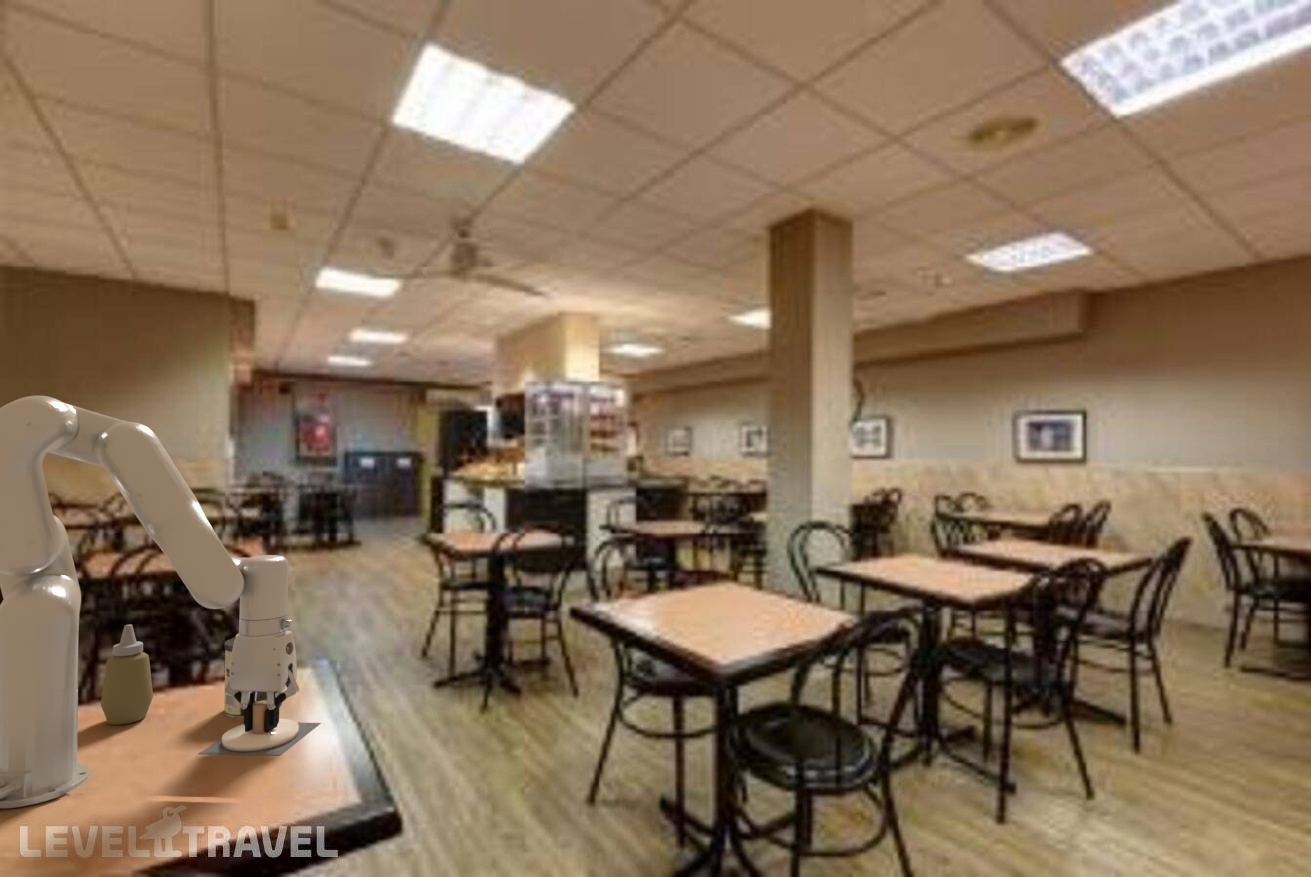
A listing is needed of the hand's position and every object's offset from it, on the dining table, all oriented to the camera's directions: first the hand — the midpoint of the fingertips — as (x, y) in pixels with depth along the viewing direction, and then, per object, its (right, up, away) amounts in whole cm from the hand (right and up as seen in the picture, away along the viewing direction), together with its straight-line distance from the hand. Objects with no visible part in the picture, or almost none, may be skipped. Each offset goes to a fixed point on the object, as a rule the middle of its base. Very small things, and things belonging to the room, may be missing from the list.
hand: (261, 728), depth 128 cm
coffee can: (-9, -2, +14) cm, 17 cm away
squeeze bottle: (-31, -2, +9) cm, 32 cm away
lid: (0, -2, 0) cm, 2 cm away
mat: (0, -2, 0) cm, 2 cm away
